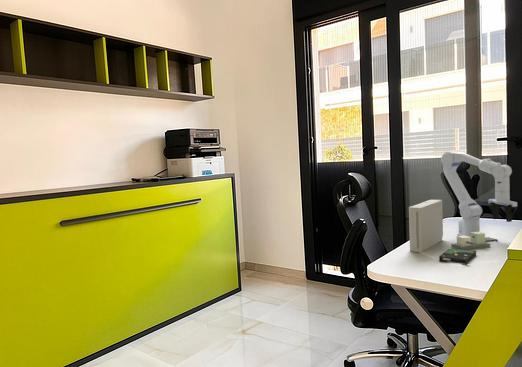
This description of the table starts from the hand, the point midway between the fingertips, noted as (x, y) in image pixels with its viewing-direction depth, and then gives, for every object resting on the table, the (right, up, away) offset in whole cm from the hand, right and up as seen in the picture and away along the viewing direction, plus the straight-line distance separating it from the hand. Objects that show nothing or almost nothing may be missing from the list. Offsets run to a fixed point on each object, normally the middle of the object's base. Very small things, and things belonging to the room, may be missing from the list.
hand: (502, 220), depth 185 cm
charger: (-15, -11, -7) cm, 20 cm away
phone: (-8, -10, +2) cm, 13 cm away
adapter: (-22, -12, -10) cm, 27 cm away
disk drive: (-32, -14, -23) cm, 42 cm away
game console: (-35, -12, 0) cm, 37 cm away
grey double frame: (-19, -12, -8) cm, 24 cm away
